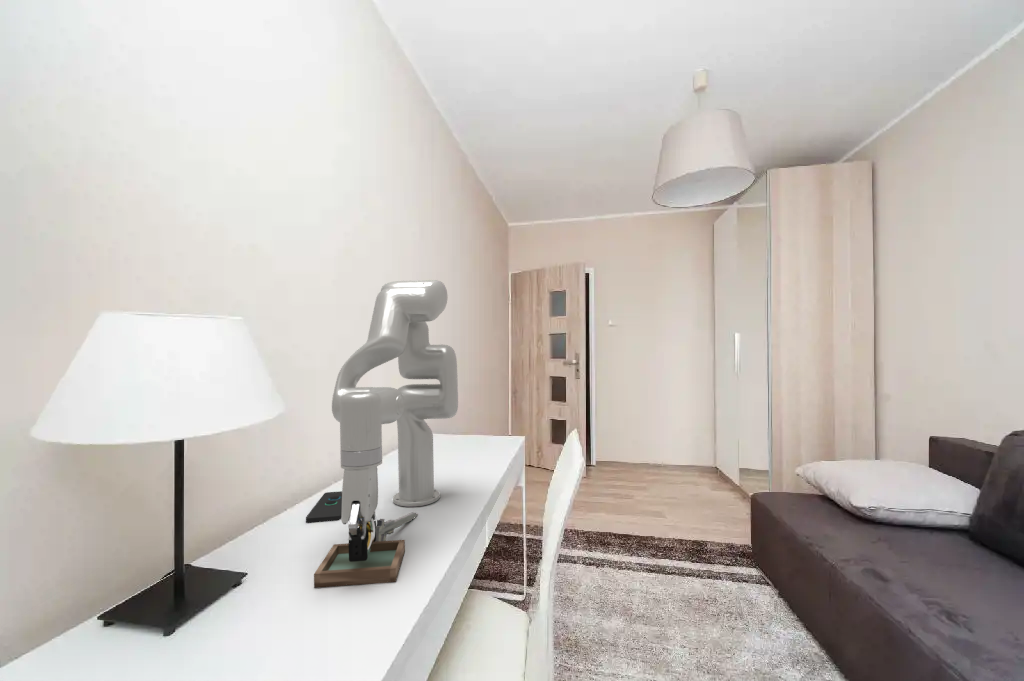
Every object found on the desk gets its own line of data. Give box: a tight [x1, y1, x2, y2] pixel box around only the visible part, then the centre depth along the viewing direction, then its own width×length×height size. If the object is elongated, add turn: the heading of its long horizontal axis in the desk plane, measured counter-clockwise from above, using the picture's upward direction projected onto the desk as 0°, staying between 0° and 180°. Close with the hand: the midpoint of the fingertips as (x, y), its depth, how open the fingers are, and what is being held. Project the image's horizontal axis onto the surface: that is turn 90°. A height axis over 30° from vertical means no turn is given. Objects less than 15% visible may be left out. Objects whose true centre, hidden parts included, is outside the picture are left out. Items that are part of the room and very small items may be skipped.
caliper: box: [375, 511, 419, 542], centre depth 101 cm, size 21×1×6 cm, turn 170°
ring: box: [358, 518, 375, 553], centre depth 85 cm, size 7×3×8 cm, turn 163°
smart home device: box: [305, 491, 342, 524], centre depth 118 cm, size 8×2×20 cm
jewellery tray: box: [313, 539, 406, 589], centre depth 85 cm, size 12×14×2 cm
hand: (363, 550), depth 85 cm, fingers closed on ring, 7 cm apart
